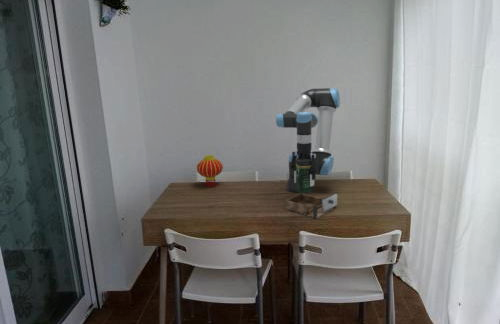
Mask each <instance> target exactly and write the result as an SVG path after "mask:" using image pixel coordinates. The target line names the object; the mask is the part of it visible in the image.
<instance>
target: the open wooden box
mask: <svg viewBox="0 0 500 324" xmlns="http://www.w3.org/2000/svg"><path fill="white" fill-rule="evenodd" d="M324 199H325V198H322V197H319V196H318V197H317V196H315V195H310V194H304V193H299V194H297V195H294V196H292V197H289V198H287V199H285V200H284V210H285V209H286V211H289V210H290V211H289V212H292V211H293V213H296V212H297V213H296V214H299V213H301V214H300V215H303V214H306V215H310V216H312V217H311V218H313V219H316V220H317V219H319V218H321V217H322V216H321V215H323V214H324V215H326V214H328V213H330V212H332V211H334V207H332V208H330V209H328V210H326V211H324V212H322V200H324ZM331 210H332V211H331ZM329 211H330V212H329ZM327 212H328V213H327ZM325 213H326V214H325ZM306 215H305V216H306ZM324 215H323V216H324ZM320 216H321V217H320Z"/></svg>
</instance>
